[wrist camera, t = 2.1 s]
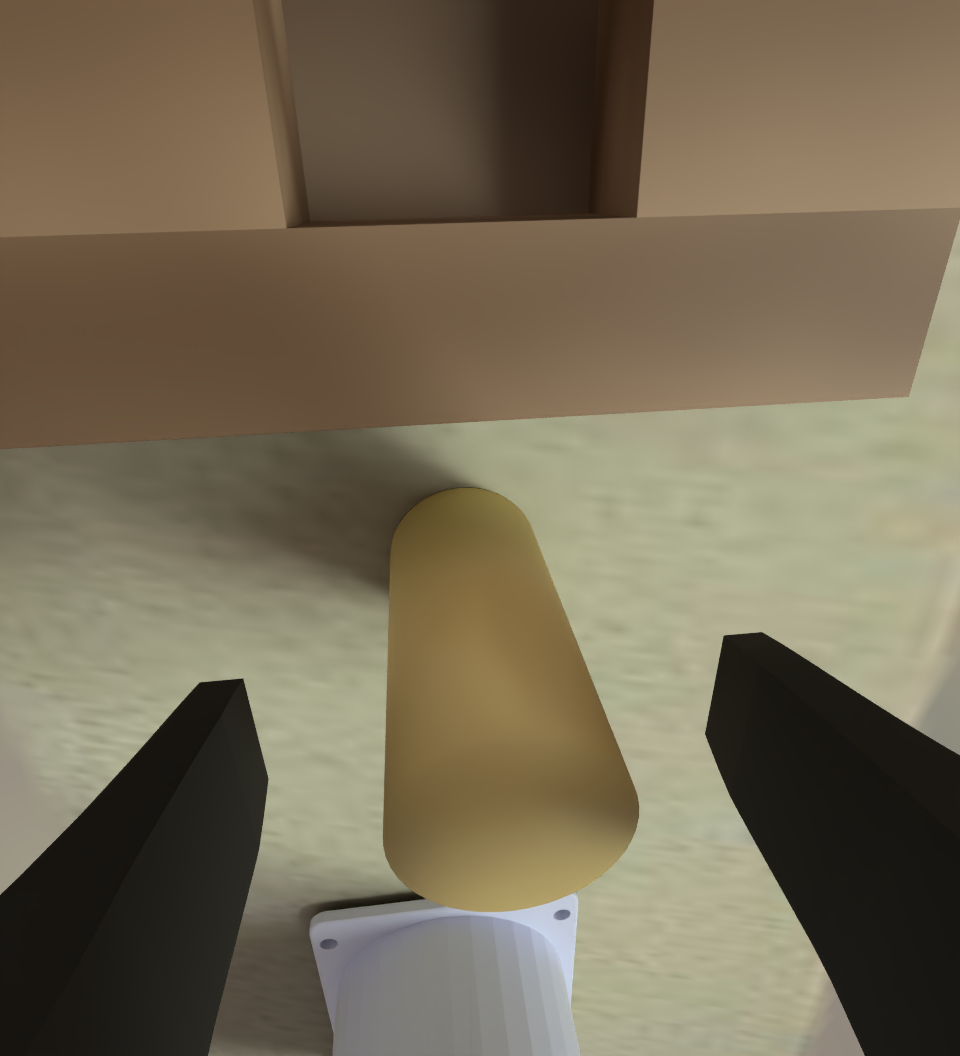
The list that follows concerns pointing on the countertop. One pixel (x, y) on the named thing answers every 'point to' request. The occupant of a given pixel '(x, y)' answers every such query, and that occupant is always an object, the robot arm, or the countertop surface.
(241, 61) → the socket block
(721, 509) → the countertop surface
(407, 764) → the peg
